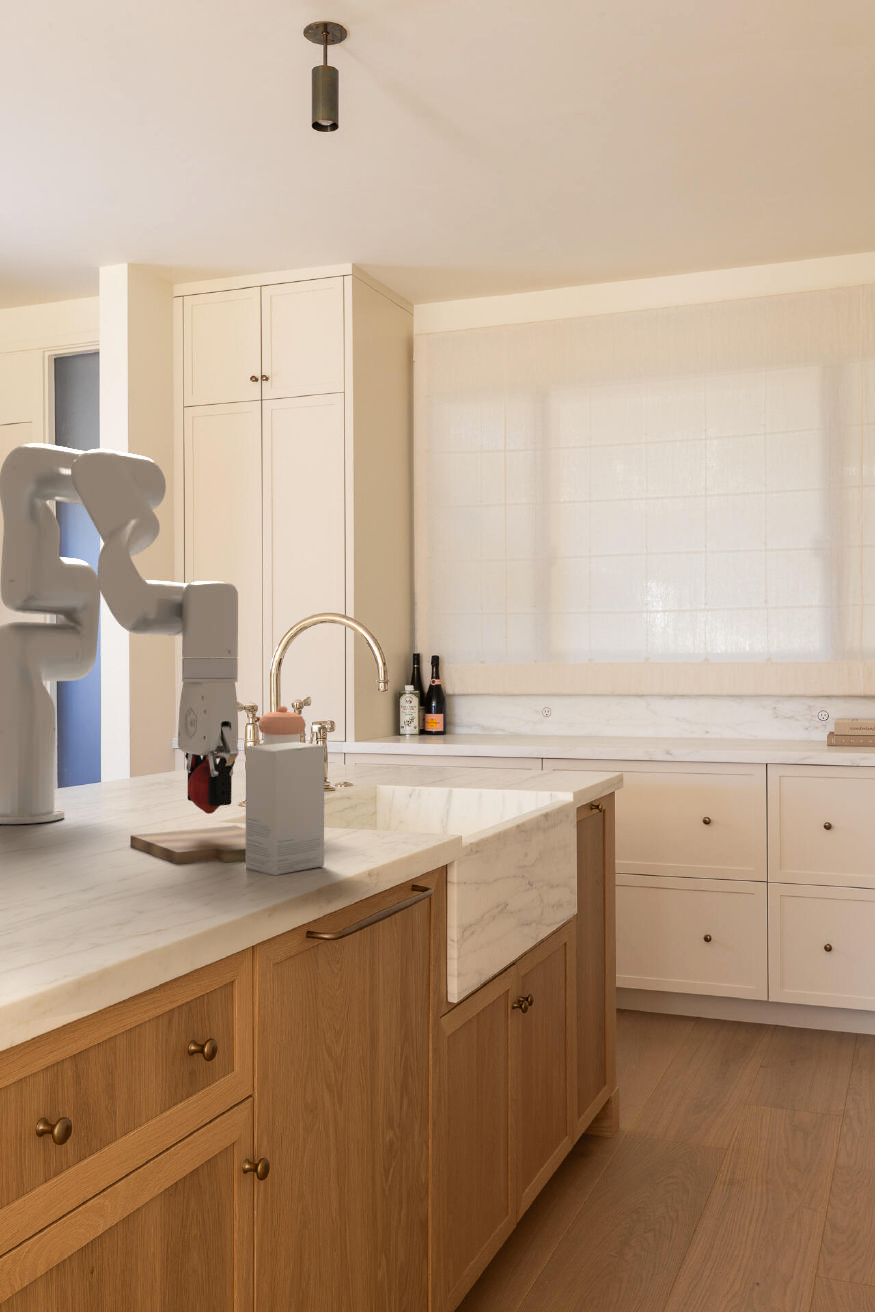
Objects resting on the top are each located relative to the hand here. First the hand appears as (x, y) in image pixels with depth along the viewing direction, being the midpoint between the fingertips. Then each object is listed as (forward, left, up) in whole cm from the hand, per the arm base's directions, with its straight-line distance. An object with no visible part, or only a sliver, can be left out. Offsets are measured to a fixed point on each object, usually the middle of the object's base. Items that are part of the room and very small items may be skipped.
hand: (209, 801), depth 151 cm
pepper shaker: (-5, +14, -7) cm, 16 cm away
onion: (0, 0, -2) cm, 2 cm away
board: (+1, 0, -7) cm, 7 cm away
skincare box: (+18, +2, -7) cm, 19 cm away
